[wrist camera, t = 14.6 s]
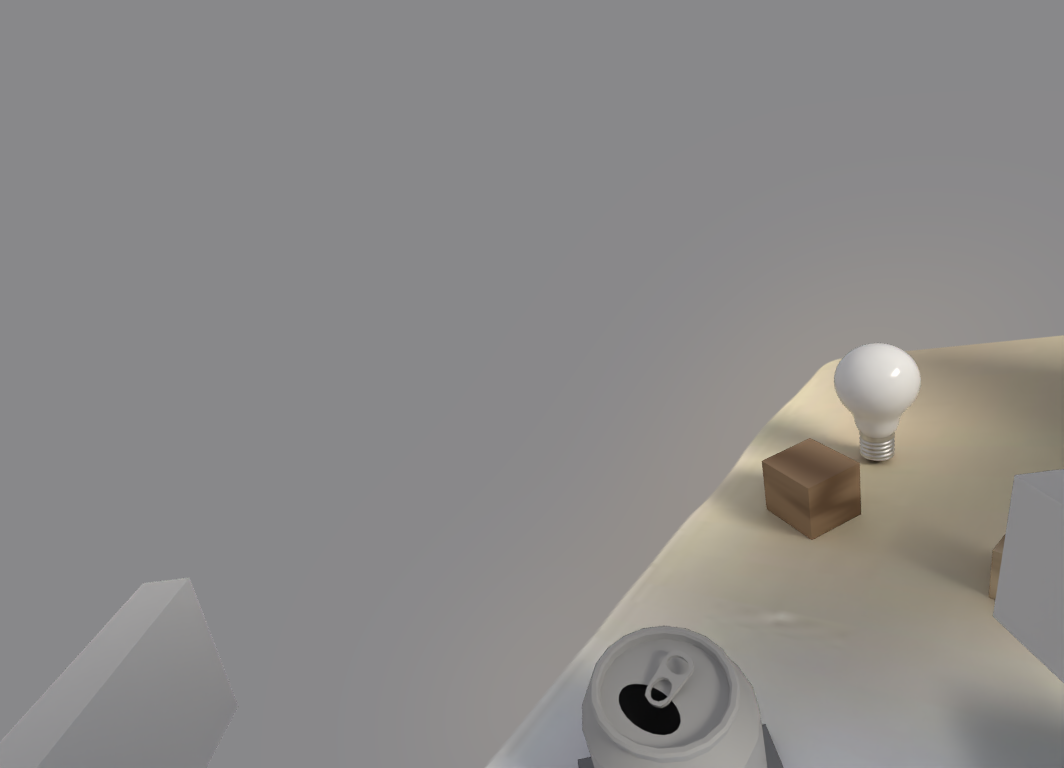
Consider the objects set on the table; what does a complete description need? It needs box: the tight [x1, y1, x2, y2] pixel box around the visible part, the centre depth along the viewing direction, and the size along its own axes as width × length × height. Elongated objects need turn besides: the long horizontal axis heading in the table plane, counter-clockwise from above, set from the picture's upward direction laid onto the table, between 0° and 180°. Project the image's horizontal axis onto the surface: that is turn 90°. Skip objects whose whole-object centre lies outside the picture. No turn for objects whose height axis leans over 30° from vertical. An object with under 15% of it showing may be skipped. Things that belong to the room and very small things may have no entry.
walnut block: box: [762, 438, 861, 540], centre depth 49 cm, size 5×5×5 cm
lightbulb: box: [834, 343, 921, 461], centre depth 52 cm, size 6×6×11 cm
